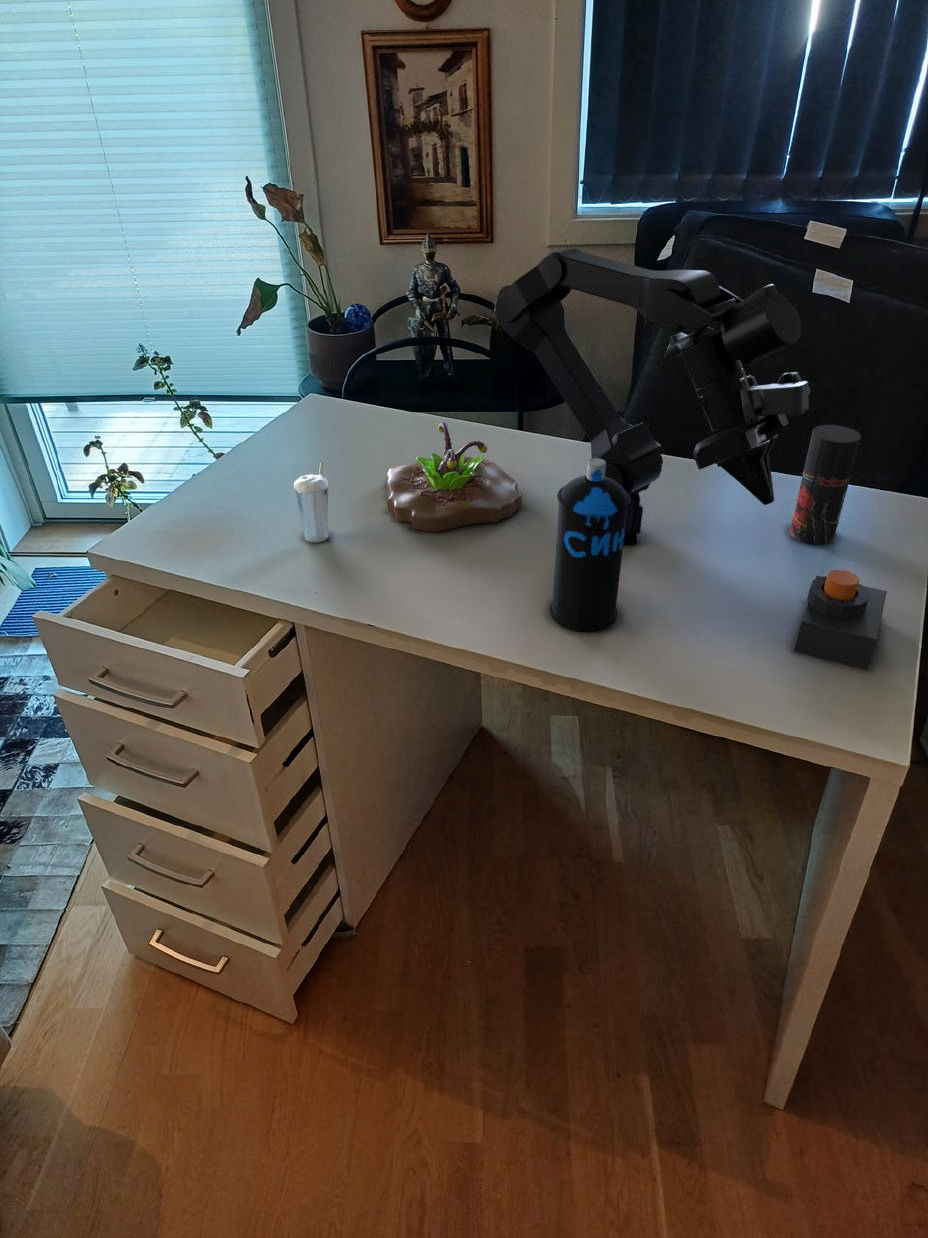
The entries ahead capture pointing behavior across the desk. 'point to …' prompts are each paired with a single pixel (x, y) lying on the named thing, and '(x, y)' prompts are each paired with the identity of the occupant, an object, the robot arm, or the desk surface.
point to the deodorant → (824, 484)
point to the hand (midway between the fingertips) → (769, 503)
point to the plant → (451, 490)
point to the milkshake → (313, 505)
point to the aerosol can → (589, 550)
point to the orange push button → (841, 584)
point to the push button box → (841, 625)
